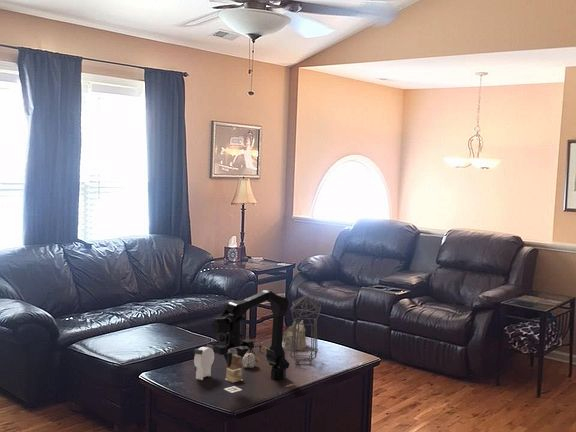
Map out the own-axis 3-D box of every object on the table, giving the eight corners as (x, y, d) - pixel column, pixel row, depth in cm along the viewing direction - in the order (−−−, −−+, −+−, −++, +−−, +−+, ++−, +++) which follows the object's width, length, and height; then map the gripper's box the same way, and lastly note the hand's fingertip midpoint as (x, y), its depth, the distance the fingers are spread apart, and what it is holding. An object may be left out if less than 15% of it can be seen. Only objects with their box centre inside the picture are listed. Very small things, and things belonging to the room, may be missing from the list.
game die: (244, 375, 304) (235, 357, 307) (259, 367, 307) (250, 349, 310) (248, 372, 296) (238, 353, 299) (263, 363, 299) (253, 345, 302)
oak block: (234, 376, 288) (235, 366, 288) (241, 379, 284) (241, 369, 284) (226, 379, 285) (226, 368, 284) (232, 381, 281) (232, 371, 281)
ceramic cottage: (292, 339, 357) (293, 314, 355) (312, 347, 345) (312, 321, 342) (271, 345, 347) (272, 320, 345) (291, 354, 334) (291, 327, 332)
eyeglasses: (259, 352, 333) (259, 344, 332) (279, 357, 323) (279, 350, 323) (240, 357, 322) (240, 350, 322) (260, 363, 313) (260, 356, 312)
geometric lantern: (319, 358, 323) (322, 293, 319) (317, 369, 307) (320, 300, 304) (289, 356, 324) (292, 291, 321) (286, 366, 308) (289, 298, 305)
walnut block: (234, 364, 274) (234, 354, 274) (241, 367, 271) (241, 356, 270) (225, 367, 271) (225, 356, 271) (232, 370, 267) (232, 358, 267)
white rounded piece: (201, 373, 294) (202, 342, 293) (221, 377, 289) (222, 346, 288) (186, 380, 284) (186, 348, 283) (206, 384, 279) (207, 352, 278)
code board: (238, 377, 290) (238, 375, 290) (265, 389, 275) (265, 387, 275) (206, 385, 278) (206, 383, 278) (233, 398, 263) (233, 396, 263)
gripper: (239, 324, 282) (239, 357, 283) (206, 330, 269) (205, 365, 271) (255, 329, 274) (254, 363, 275) (221, 335, 261) (220, 371, 262)
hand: (233, 365), depth 271 cm, fingers closed on walnut block, 5 cm apart
